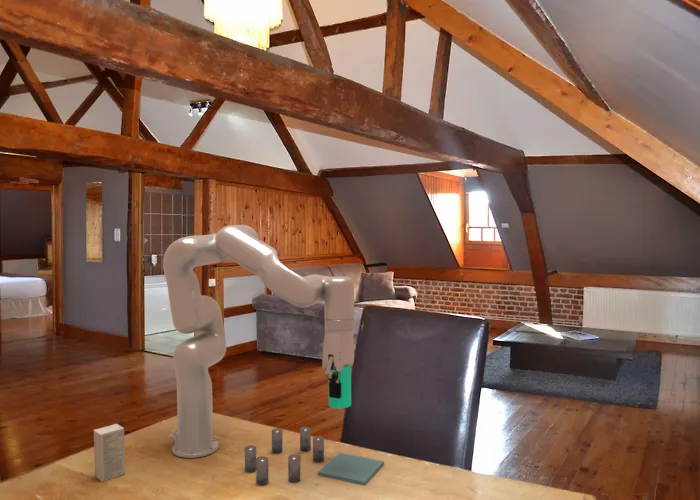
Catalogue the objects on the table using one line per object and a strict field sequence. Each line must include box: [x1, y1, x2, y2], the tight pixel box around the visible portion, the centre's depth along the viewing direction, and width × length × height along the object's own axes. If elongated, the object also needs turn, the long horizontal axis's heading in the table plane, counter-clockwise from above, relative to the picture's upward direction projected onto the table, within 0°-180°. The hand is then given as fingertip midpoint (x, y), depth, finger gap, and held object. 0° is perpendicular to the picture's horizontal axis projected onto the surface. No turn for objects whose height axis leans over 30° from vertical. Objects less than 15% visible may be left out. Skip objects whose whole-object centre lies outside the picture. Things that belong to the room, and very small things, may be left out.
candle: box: [328, 365, 352, 409], centre depth 150 cm, size 6×6×12 cm
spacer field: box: [244, 426, 325, 486], centre depth 153 cm, size 16×25×6 cm, turn 156°
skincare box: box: [93, 423, 126, 482], centre depth 146 cm, size 6×4×12 cm
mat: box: [317, 452, 385, 486], centre depth 151 cm, size 13×13×1 cm
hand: (339, 393), depth 150 cm, fingers closed on candle, 4 cm apart
